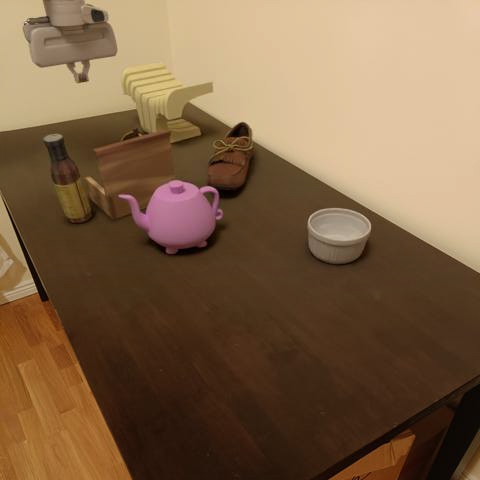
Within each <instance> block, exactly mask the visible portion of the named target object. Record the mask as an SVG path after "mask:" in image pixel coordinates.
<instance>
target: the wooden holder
mask: <svg viewBox="0 0 480 480" xmlns="http://www.w3.org/2000/svg"><path fill="white" fill-rule="evenodd" d="M170 136H171V131H169V130H167V129H166V130H162V131H158V132H155V133H151V134H149V133H147V134H143V135H142V136H140V137H136V138H132V139H129V140H125V141H121V140H120V141H121V142H120V141H118V142H114V143H110V144H107V145H103V146H99V147H96V148H93V149H92V152H93V154H94V155H95V158H96V163H97V167H98V171H99V174H100V179H101V182H102V186H101V185H100V184H99V183H98V182H97V181H96V180H94V179H93V177H91V176H87V177H86V176H85V177H84V179H85V183H86V188H87V190H88V194H89V197H90V198H89V199H90V200H91V201H92V202H93V203H94V204H95V205H96V206H98V208H99V209H101V211H103V212H104V213H105V214H106V215H107V216H108V217H109V218H110V219H111V220H112V221H113V220H117V219H119V218H123V217H124V216H125V217H126V216H128V215H131V214H132V211H131V207H130V205H129V203H128V202H127V201H126V200H124V199H123V198H121V197H119V196H118V195H130V196H132V197H134V198H135V199H136V201H137V203H138V206H139V209H140V211H142V210H146V209H147V207H148V204H149V202H150V200H151V198H152V196H153V194H154V192H155V191H156V189H158V188H159V187H160V186H162V185H164V184H168V183H169V182H171V181H174V180H176V176H175V168H174V167H175V166H174V159H173V150H172V143H171V141H170Z"/></svg>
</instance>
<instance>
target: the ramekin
mask: <svg viewBox="0 0 480 480" xmlns="http://www.w3.org/2000/svg"><path fill="white" fill-rule="evenodd" d="M306 227H307V232H308V233H307V234H308V237H307V238H308V239H307V240H308V248H309V251H310V252H311V253H312V255H313V257H315V258H317V259H318V260H320V261H321V262H324V263H326V264H331V265H344V264H349V263H352V262H354V261H355V260H357V259H358V258H360V256H361V255H362V253H363V252H364V249H365V246H366V243H367V241H368V238H369V237H370V235H371V232H372V224H371V221H370V220H369V219H368V218H367V216H365V215H364V214H362V213H360V212H357V211H354V210H352V209H347V208H341V207H329V208H328V207H327V208H324V209H323V208H322V209H319V210H317V211H315V212H313V213H312V214H311V215H310V216H309V217H308V220H307V226H306Z"/></svg>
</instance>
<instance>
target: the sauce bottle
mask: <svg viewBox="0 0 480 480" xmlns="http://www.w3.org/2000/svg"><path fill="white" fill-rule="evenodd" d="M43 142H44V146H45V147H46V148H47V152H48V154H49V159H50V176H51V180H52V183H53V186H54V188H55V191H56V194H57V196H58V199H59V202H60V204H61V208H62V210H63V213H64V216H65V217H66V220H67V221H68V222H69V223H71V224H81V223H86V222H88V221H89V220H90V219H91V218H92V216H93V212H92V207H91V205H90V201H89V198H88V195H87V193H86V188H85V185H84V183H83V180H82V176H81V174H80V172H79V169H78V166H77V165H76V162H75V160H73V158H71V156H70V155H69V153H68V150H67V148H66V145H65V139H64V136H63V135H62V134H59V133H53V134H47V135H46V136H44V137H43Z"/></svg>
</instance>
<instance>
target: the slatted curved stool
mask: <svg viewBox="0 0 480 480" xmlns="http://www.w3.org/2000/svg"><path fill="white" fill-rule="evenodd" d="M120 80H121V81H120V82H121V87H122V88H121V89H122V93H123V95H124V96H125V95H127V96H128V97H130V98H131V99H132V101H133V103H135V107H136V112H137V115H138V118H139V123H140V126H141V129H142V130H143V131H144V132H146V133H147V134H151V133H155V132H158V131H162V130H166V129H167V130H169V131H171V136H170V141H171V144H173V143H176V142H181V141H184V140H187V139H191V138H195V137H198V136H201V135H202V132H201V129H200V127H198V126H196V125H194V124H193V123H191V122H189V121H187V120H185V119H183V118H182V115H183V110H184V108H185V106H186V105H187V104H188V103H189V102H191V101H192V100H194V99H196V98H199V97H201V96H204V95H208V94H212V93H214V84H213V83H214V82H213V81H210V82H205V83H200V84H196V85H192V86H187V85H184V84H183V83H181V81H179V79H177V78H176V77H175V75H174V74H172V72H171V71H170V70H169V68H167V65H166V64H165V62H164V61H157V62H153V63H147V64H140V65H135V66H130V67H127V68H126V69H124V71H123V72H122V74H121V77H120Z"/></svg>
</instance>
